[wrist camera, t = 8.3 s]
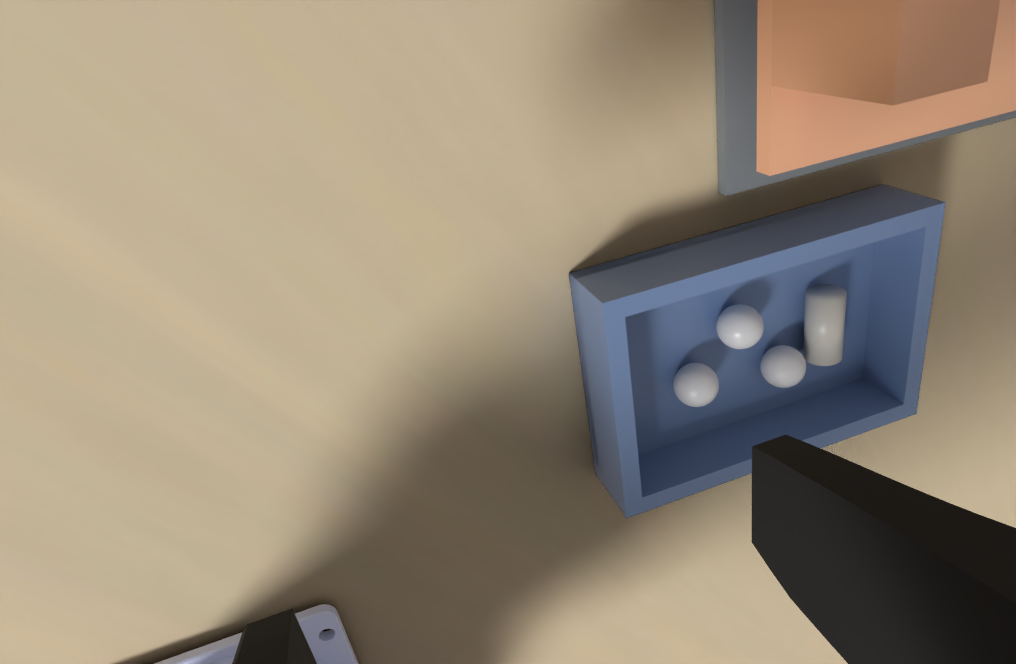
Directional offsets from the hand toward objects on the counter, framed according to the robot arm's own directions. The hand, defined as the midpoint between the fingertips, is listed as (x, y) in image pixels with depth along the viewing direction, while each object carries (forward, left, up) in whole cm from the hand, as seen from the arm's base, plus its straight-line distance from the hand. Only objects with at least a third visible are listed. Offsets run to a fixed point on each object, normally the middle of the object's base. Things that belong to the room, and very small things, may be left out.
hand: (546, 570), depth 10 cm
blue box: (-4, -10, -10) cm, 15 cm away
